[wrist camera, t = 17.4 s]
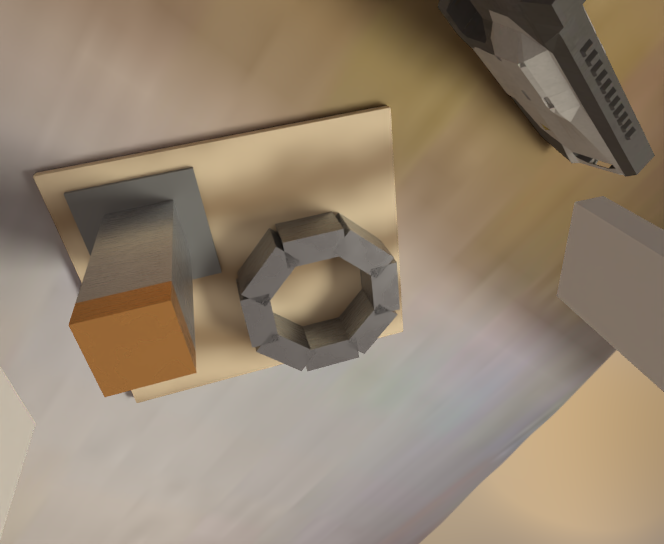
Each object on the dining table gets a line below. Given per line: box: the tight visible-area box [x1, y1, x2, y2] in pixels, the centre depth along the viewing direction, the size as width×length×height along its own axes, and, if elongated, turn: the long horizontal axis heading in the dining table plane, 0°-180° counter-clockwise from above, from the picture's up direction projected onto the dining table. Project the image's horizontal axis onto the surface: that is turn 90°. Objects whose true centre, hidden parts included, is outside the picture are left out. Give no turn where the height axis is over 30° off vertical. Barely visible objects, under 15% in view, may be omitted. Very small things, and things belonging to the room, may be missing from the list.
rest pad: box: [64, 167, 222, 280], centre depth 38 cm, size 9×9×1 cm
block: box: [69, 200, 197, 397], centre depth 32 cm, size 5×5×14 cm
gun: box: [438, 0, 655, 177], centre depth 34 cm, size 5×27×15 cm, turn 52°
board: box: [33, 105, 403, 403], centre depth 43 cm, size 22×26×1 cm
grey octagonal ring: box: [236, 211, 400, 371], centre depth 43 cm, size 13×13×4 cm
